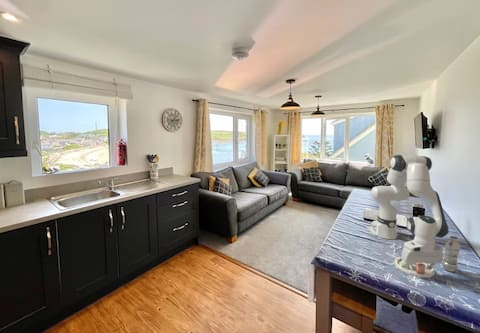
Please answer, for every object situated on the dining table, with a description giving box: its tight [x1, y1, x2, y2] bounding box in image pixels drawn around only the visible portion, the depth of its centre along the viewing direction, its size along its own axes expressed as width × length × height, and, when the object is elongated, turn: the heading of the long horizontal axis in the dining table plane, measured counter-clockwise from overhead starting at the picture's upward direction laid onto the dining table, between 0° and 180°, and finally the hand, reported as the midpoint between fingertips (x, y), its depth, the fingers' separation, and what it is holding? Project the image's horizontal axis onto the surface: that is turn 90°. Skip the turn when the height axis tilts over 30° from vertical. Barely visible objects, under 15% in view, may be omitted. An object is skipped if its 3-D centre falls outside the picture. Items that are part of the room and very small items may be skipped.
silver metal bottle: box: [441, 235, 461, 273], centre depth 127 cm, size 6×7×20 cm
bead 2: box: [416, 263, 425, 274], centre depth 124 cm, size 4×4×5 cm
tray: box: [394, 256, 436, 279], centre depth 129 cm, size 18×18×2 cm
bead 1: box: [401, 259, 409, 269], centre depth 129 cm, size 4×4×5 cm
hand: (420, 268), depth 124 cm, fingers open, 8 cm apart
